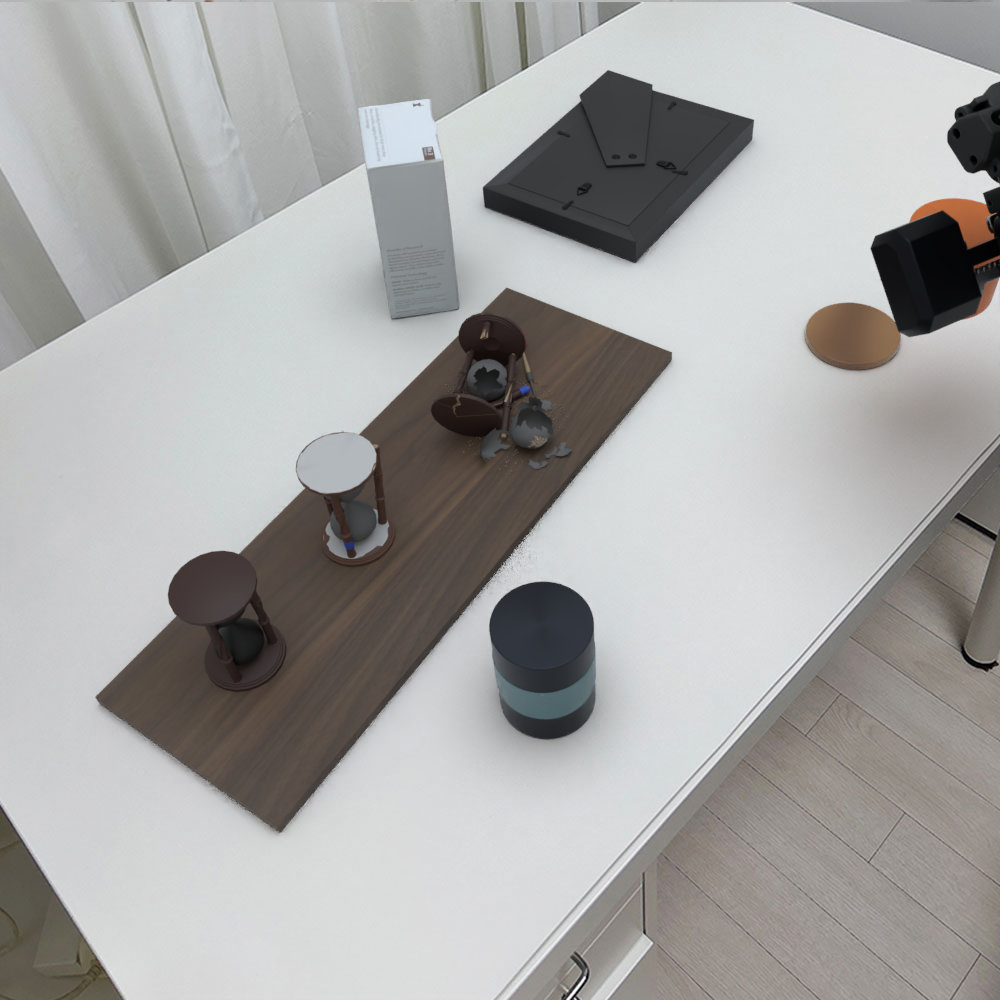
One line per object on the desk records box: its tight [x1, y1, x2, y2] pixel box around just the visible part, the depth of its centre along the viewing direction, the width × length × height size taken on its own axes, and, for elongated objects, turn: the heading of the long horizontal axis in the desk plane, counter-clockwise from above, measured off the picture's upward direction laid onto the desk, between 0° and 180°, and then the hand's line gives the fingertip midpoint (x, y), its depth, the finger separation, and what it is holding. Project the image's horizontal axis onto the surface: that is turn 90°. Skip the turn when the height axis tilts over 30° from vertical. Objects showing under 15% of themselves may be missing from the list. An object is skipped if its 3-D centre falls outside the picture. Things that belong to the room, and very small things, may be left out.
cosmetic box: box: [357, 98, 460, 319], centre depth 87 cm, size 8×6×15 cm
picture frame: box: [482, 69, 755, 263], centre depth 100 cm, size 16×3×21 cm
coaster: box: [804, 302, 902, 371], centre depth 85 cm, size 7×7×1 cm
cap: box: [909, 197, 1000, 321], centre depth 71 cm, size 6×6×5 cm
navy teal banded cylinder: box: [488, 581, 597, 740], centre depth 64 cm, size 6×6×8 cm
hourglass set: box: [94, 287, 673, 833], centre depth 74 cm, size 15×45×8 cm, turn 145°
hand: (934, 259), depth 73 cm, fingers closed on cap, 6 cm apart
